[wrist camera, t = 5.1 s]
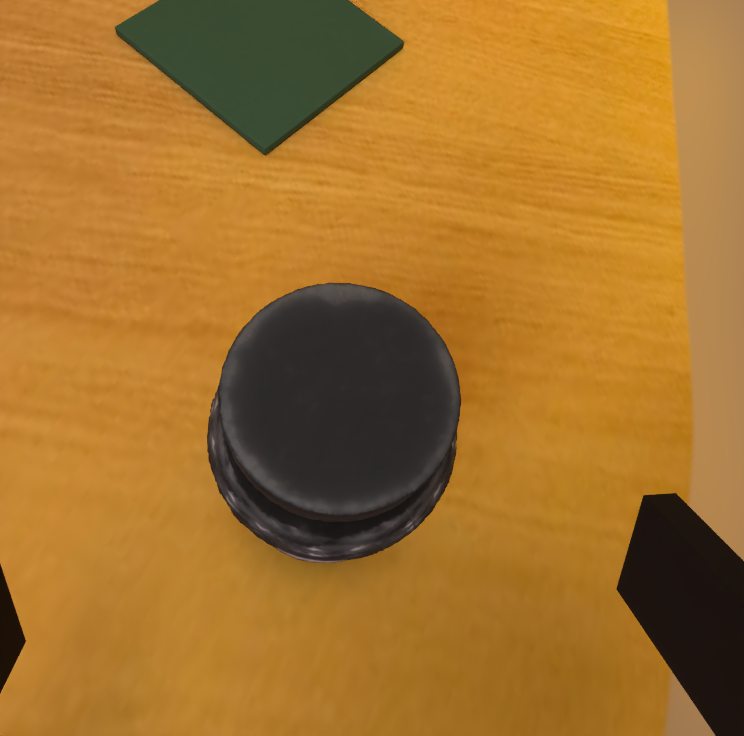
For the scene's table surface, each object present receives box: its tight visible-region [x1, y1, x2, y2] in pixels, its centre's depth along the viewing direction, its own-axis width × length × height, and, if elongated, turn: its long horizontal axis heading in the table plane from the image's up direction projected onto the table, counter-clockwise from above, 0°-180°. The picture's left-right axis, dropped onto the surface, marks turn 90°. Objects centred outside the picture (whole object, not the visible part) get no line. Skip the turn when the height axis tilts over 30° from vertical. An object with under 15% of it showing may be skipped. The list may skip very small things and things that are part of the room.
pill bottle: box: [207, 283, 461, 563], centre depth 16 cm, size 6×6×11 cm
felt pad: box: [115, 0, 404, 155], centre depth 28 cm, size 10×10×1 cm
